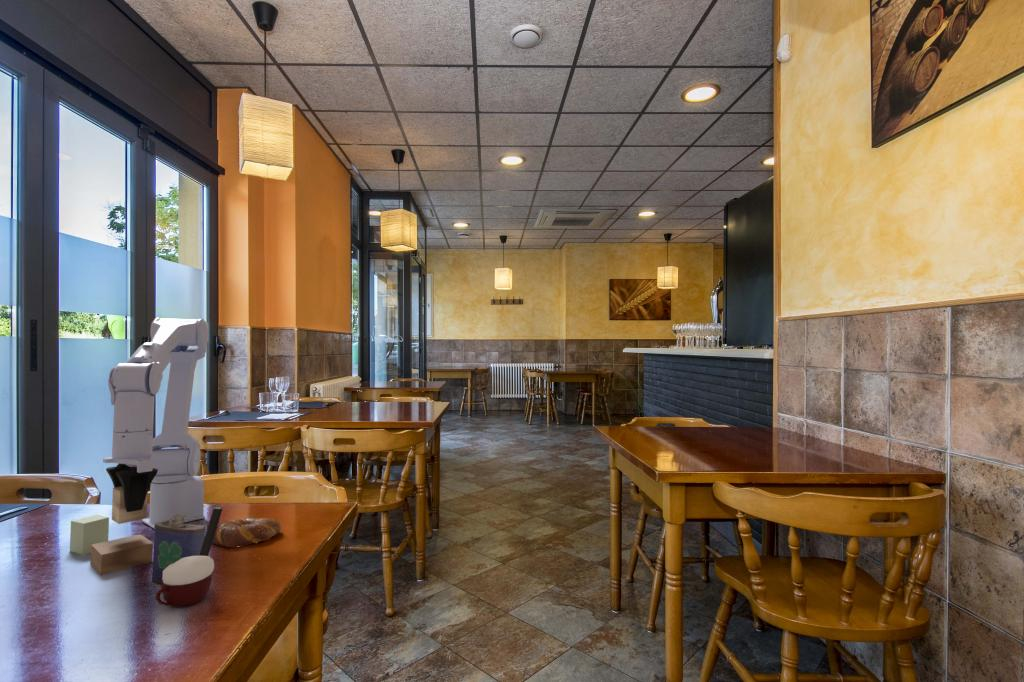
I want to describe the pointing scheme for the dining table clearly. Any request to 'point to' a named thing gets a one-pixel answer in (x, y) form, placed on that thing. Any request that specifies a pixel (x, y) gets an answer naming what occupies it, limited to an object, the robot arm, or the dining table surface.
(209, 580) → the cocoa
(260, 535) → the pretzel
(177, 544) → the flask
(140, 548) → the walnut slab
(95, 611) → the dining table surface
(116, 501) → the beech block
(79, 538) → the sage block
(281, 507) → the dining table surface
